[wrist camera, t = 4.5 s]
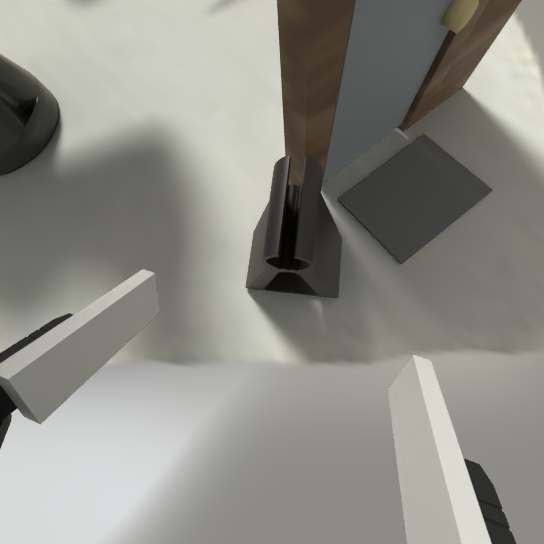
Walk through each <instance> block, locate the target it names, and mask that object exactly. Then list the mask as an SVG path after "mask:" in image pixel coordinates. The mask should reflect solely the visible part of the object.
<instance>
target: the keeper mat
mask: <svg viewBox="0 0 544 544" xmlns="http://www.w3.org/2000/svg"><path fill="white" fill-rule="evenodd" d="M491 191H492V189H491V188H490V187H488V186H487V185H486V184H485V183H484V182H482V181H481V180H480V179H479V178H477V177H476V176H475V175H474V174H472V173H471V172H470V171H469V170H468V169H466V168H465V167H464V166H463V165H461V164H460V163H459V162H458V161H456V160H455V159H454V158H453V157H452V156H450V155H449V154H448V153H447V152H445V151H444V150H443V149H442V148H440V147H439V146H438V145H437V144H436V143H434V142H433V141H432V140H431V139H429V138H428V137H427V136H426V135H424V134H423V135H422V136H421V137H419V138H418V139H417V140H416V141H414V142H413V143H412V144H410V145H409V146H408V147H406V148H405V149H404V150H402V151H401V152H400V153H398V154H397V155H396V156H395V157H393V158H392V159H391V160H389V161H388V162H387V163H385V164H384V165H383V166H381V167H380V168H379V169H377V170H376V171H375V172H374V173H372V174H371V175H370V176H368V177H367V178H366V179H364V180H363V181H362V182H360V183H359V184H358V185H356V186H355V187H354V188H352V189H351V190H350V191H349V192H347V193H346V194H345V195H343V196H342V197H341V198H339V200H338V201H339V202H340V203H341V204H342V205H343V206H344V207H345V208H346V209H347V210H348V211H349V212H350V213H351V214H352V215H353V216H354V217H355V218H356V219H357V220H358V221H359V222H360V223H361V224H362V225H363V226H364V227H365V228H366V229H367V230H368V231H369V232H370V233H371V234H372V235H373V236H374V237H375V238H376V239H377V240H378V241H379V242H380V243H381V244H382V245H383V246H384V247H385V248H386V250H387V251H388V252H389V253H390V254H391V255H392V256H393V257H394V258H395V259H396V260H397V261H398V262H399V263H400V264H402V263H403V262H404V261H406V260H407V259H408V258H409V257H411V256H412V255H413V254H414V253H416V252H417V251H418V250H419V249H421V248H422V247H423V246H424V245H425V244H427V243H428V242H429V241H430V240H432V239H433V238H434V237H435V236H437V235H438V234H439V233H440V232H442V231H443V230H444V229H445V228H447V227H448V226H449V225H450V224H451V223H453V222H454V221H455V220H456V219H458V218H459V217H460V216H461V215H463V214H464V213H465V212H466V211H468V210H469V209H470V208H471V207H472V206H474V205H475V204H476V203H477V202H479V201H480V200H481V199H482V198H484V197H485V196H486V195H487V194H489V193H490V192H491Z"/></svg>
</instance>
